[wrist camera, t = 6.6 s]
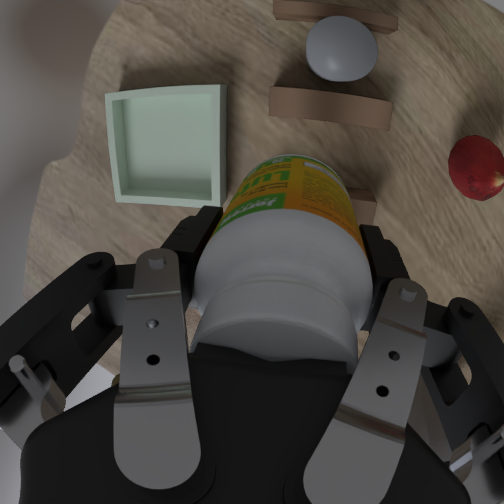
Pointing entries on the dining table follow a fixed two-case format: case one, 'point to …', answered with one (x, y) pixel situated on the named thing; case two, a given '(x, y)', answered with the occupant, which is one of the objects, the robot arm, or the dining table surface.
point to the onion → (476, 167)
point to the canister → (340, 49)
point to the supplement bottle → (286, 267)
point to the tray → (169, 144)
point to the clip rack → (335, 103)
